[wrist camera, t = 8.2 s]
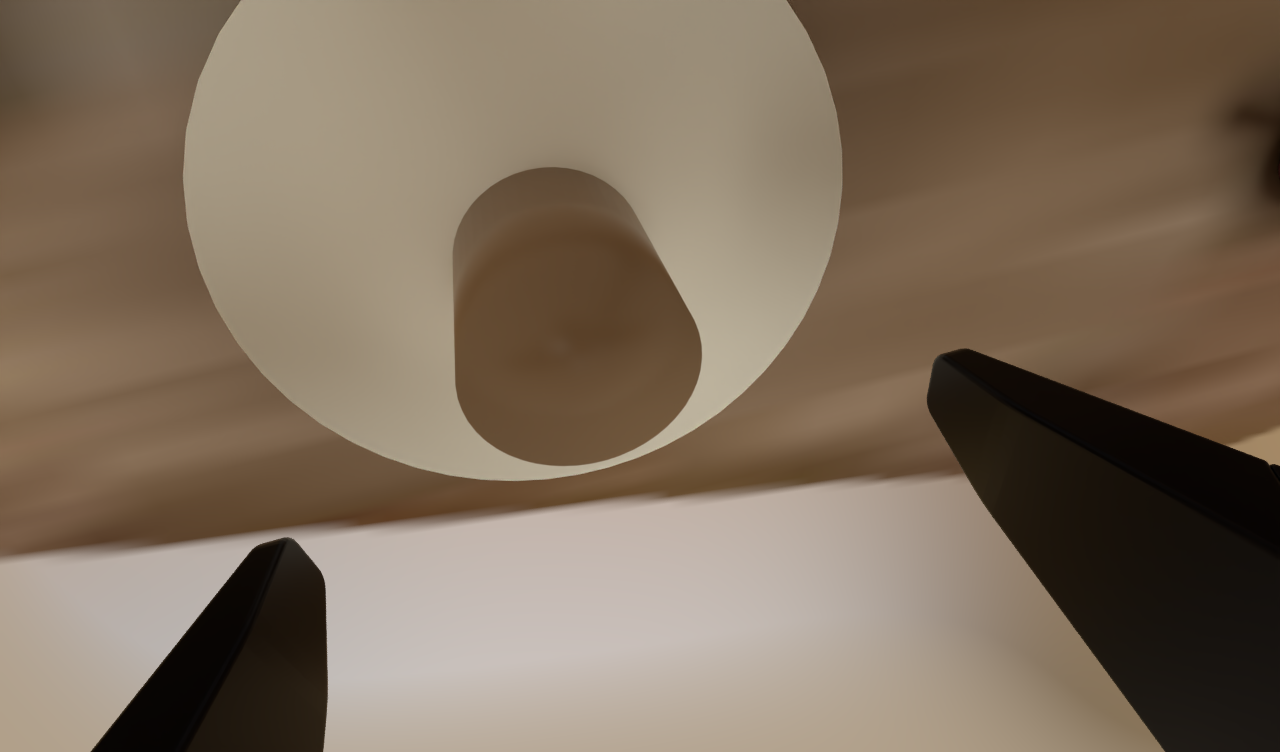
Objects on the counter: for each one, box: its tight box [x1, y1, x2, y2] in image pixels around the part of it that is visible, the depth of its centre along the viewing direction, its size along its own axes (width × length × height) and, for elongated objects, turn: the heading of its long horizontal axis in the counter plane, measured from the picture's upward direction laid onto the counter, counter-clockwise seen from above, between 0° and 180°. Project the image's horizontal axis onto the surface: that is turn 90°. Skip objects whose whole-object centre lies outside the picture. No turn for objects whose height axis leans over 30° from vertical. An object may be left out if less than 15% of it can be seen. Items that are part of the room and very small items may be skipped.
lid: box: [183, 0, 842, 481], centre depth 12 cm, size 13×13×5 cm
